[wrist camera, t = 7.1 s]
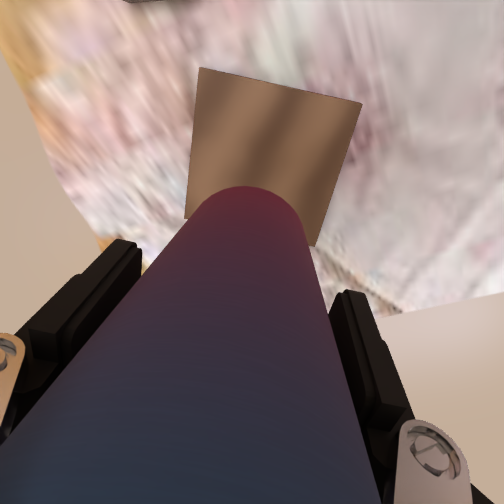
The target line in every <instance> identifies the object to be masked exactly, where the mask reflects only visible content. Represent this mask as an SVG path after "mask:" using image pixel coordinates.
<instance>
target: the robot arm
mask: <svg viewBox="0 0 504 504" xmlns="http://www.w3.org/2000/svg"><path fill="white" fill-rule="evenodd" d="M141 269H142V249H141V248H137V244H136V243H135V242H131V241H126V240H122V239H116V240H114V241H113V242H112V243H111V244H110V245H109V246H108V247H107V248H106V249H105V250H104V252H103V253H102V254H101V255H100V256H99V257H98V258H97V259H96V260H95V261H94V262H93V263H92V264H91V265H90V266H89V267H88V268H87V269H86V270H85V271H84V272H83V273H82V274H77V275H75V276H73V277H72V278H71V279H70V280H69V281H68V282H67V283H66V284H65V285H64V286H63V287H62V288H61V289H60V290H59V291H58V292H57V293H56V294H55V295H54V296H53V297H52V298H51V299H50V300H49V301H48V302H47V303H46V304H45V305H44V306H43V307H42V308H41V309H40V310H39V311H38V312H37V313H36V314H35V315H34V316H32V317H31V319H29V320H28V321H27V322H26V323H25V324H24V325H23V326H22V328H20V329H19V330H18V332H16V333H15V334H14V335H11V334H8V333H0V446H1V445H2V444H3V443H4V441H5V440H6V439H7V438H8V437H9V435H10V434H11V433H12V432H13V431H14V429H15V428H16V427H17V426H18V425H19V423H20V422H21V421H22V420H23V418H24V417H25V416H26V415H27V414H28V412H29V411H30V410H31V409H32V408H33V406H34V405H35V404H36V403H37V402H38V400H39V399H40V398H41V397H42V396H43V394H44V393H45V392H46V391H47V389H48V388H49V387H50V386H51V385H52V383H53V382H54V381H55V380H56V379H57V377H58V376H59V375H60V374H61V373H62V371H63V370H64V369H65V368H66V367H67V365H68V364H69V363H70V362H71V361H72V359H73V358H74V357H75V356H76V354H77V353H78V352H79V351H80V350H81V348H82V347H83V346H84V345H85V344H86V342H87V341H88V340H89V339H90V338H91V336H92V335H93V334H94V333H95V332H96V330H97V329H98V328H99V327H100V325H101V324H102V323H103V322H104V321H105V319H106V318H107V317H108V316H109V315H110V313H111V312H112V311H113V310H114V309H115V307H116V306H117V305H118V304H119V303H120V301H121V300H122V299H123V298H124V297H125V295H126V294H127V293H128V292H129V290H130V289H131V288H132V287H133V286H134V284H135V283H136V282H137V281H138V280H139V278H140V277H141ZM328 317H329V320H330V324H331V327H332V331H333V334H334V338H335V341H336V345H337V348H338V352H339V355H340V359H341V363H342V366H343V370H344V373H345V377H346V380H347V384H348V387H349V391H350V394H351V398H352V401H353V405H354V408H355V412H356V415H357V419H358V422H359V426H360V430H361V433H362V437H363V440H364V444H365V447H366V451H367V454H368V458H369V461H370V465H371V468H372V472H373V475H374V479H375V482H376V486H377V490H378V493H379V497H380V500H381V504H494V503H493V502H492V501H490V500H489V499H488V498H487V497H486V496H485V495H484V494H482V493H481V492H480V491H479V490H478V489H477V488H476V487H475V486H474V485H472V484H471V483H470V476H469V469H468V465H467V461H466V459H465V457H464V455H463V453H462V451H461V450H460V448H459V447H458V446H457V444H456V443H455V442H454V441H453V439H452V438H450V437H449V436H448V435H447V434H446V433H445V432H443V430H441V429H439V428H438V427H436V426H435V425H433V424H431V423H428V422H426V421H423V420H416V419H415V417H414V414H413V412H412V409H411V406H410V404H409V401H408V398H407V396H406V393H405V390H404V388H403V385H402V383H401V380H400V377H399V375H398V372H397V370H396V367H395V364H394V362H393V359H392V356H391V354H390V351H389V349H388V346H387V344H386V342H385V341H384V340H382V338H381V336H380V333H379V330H378V328H377V325H376V322H375V319H374V317H373V314H372V311H371V309H370V306H369V303H368V301H367V298H366V295H365V294H364V293H362V292H357V291H353V290H348V289H346V290H344V292H343V293H340V292H339V293H337V295H336V297H335V300H334V302H333V304H332V307H331V309H330V311H329V314H328Z"/></svg>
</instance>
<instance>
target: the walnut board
mask: <svg viewBox="0 0 504 504" xmlns="http://www.w3.org/2000/svg"><path fill="white" fill-rule="evenodd" d="M362 105H363V104H361V103H358V102H353V101H349V100H344V99H340V98H336V97H331V96H327V95H322V94H318V93H313V92H309V91H304V90H300V89H296V88H291V87H287V86H282V85H278V84H273V83H269V82H265V81H260V80H256V79H251V78H247V77H242V76H238V75H233V74H229V73H225V72H220V71H216V70H211V69H207V68H202V67H199V74H198V84H197V94H196V104H195V114H194V124H193V135H192V145H191V155H190V165H189V175H188V185H187V195H186V205H185V216H184V219H189V218H190V217H191V216H192V214H193V213H194V212H195V211H196V210H197V208H198V207H199V206H200V205H201V204H202V202H203V201H205V200H206V199H207V198H208V197H210V196H211V195H213V194H215V193H217V192H219V191H221V190H223V189H227V188H230V187H236V186H251V187H259V188H262V189H265V190H268V191H271V192H272V193H274V194H276V195H278V196H280V197H281V198H283V199H284V200H285V201H286V202H287V203H288V204H290V205H291V207H292V208H293V209H294V210H295V212H296V213H297V214H298V216H299V218H300V220H301V222H302V225H303V228H304V232H305V235H306V239H307V243H308V245H309V246H314V247H315V245H316V242H317V239H318V236H319V233H320V230H321V227H322V224H323V221H324V218H325V215H326V212H327V209H328V206H329V203H330V200H331V197H332V194H333V191H334V188H335V185H336V182H337V179H338V176H339V173H340V170H341V167H342V164H343V161H344V158H345V155H346V152H347V149H348V146H349V143H350V140H351V137H352V134H353V131H354V128H355V125H356V122H357V119H358V116H359V114H360V111H361V108H362Z"/></svg>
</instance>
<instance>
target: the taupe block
mask: <svg viewBox="0 0 504 504" xmlns="http://www.w3.org/2000/svg"><path fill="white" fill-rule="evenodd" d="M123 1H126V2H128V3H136V2H149V1H161V0H123Z"/></svg>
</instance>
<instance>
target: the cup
mask: <svg viewBox="0 0 504 504" xmlns="http://www.w3.org/2000/svg"><path fill="white" fill-rule="evenodd" d="M0 504H381V500H380V497H379V493H378V490H377V486H376V482H375V479H374V475H373V472H372V468H371V465H370V461H369V458H368V454H367V451H366V447H365V444H364V440H363V437H362V433H361V430H360V426H359V422H358V419H357V415H356V412H355V408H354V405H353V401H352V398H351V394H350V391H349V387H348V384H347V380H346V377H345V373H344V370H343V366H342V363H341V359H340V355H339V352H338V348H337V345H336V341H335V338H334V334H333V331H332V327H331V324H330V320H329V317H328V313H327V310H326V306H325V303H324V299H323V295H322V292H321V288H320V285H319V281H318V278H317V274H316V271H315V267H314V264H313V260H312V257H311V253H310V250H309V246H308V243H307V239H306V235H305V232H304V228H303V225H302V222H301V220H300V218H299V216H298V214H297V213H296V212H295V210H294V209H293V208H292V207H291V205H290V204H288V203H287V202H286V201H285V200H284V199H283V198H281V197H280V196H278V195H276V194H274V193H272V192H271V191H268V190H265V189H262V188H259V187H251V186H236V187H230V188H227V189H223V190H221V191H219V192H217V193H215V194H213V195H211V196H210V197H208V198H207V199H206V200H205V201H203V202H202V204H201V205H200V206H199V207H198V208H197V210H196V211H195V212H194V213H193V214H192V216H191V217H190V218H189V219H188V220H187V222H186V223H185V224H184V225H183V226H182V228H181V229H180V230H179V231H178V233H177V234H176V235H175V236H174V237H173V239H172V240H171V241H170V242H169V243H168V245H167V246H166V247H165V248H164V249H163V251H162V252H161V253H160V254H159V255H158V257H157V258H156V259H155V260H154V261H153V263H152V264H151V265H150V266H149V268H148V269H147V270H146V271H145V272H144V274H143V275H142V276H141V277H140V278H139V280H138V281H137V282H136V283H135V284H134V286H133V287H132V288H131V289H130V290H129V292H128V293H127V294H126V295H125V297H124V298H123V299H122V300H121V301H120V303H119V304H118V305H117V306H116V307H115V309H114V310H113V311H112V312H111V313H110V315H109V316H108V317H107V318H106V319H105V321H104V322H103V323H102V324H101V325H100V327H99V328H98V329H97V330H96V332H95V333H94V334H93V335H92V336H91V338H90V339H89V340H88V341H87V342H86V344H85V345H84V346H83V347H82V348H81V350H80V351H79V352H78V353H77V354H76V356H75V357H74V358H73V359H72V361H71V362H70V363H69V364H68V365H67V367H66V368H65V369H64V370H63V371H62V373H61V374H60V375H59V376H58V377H57V379H56V380H55V381H54V382H53V383H52V385H51V386H50V387H49V388H48V389H47V391H46V392H45V393H44V394H43V396H42V397H41V398H40V399H39V400H38V402H37V403H36V404H35V405H34V406H33V408H32V409H31V410H30V411H29V412H28V414H27V415H26V416H25V417H24V418H23V420H22V421H21V422H20V423H19V425H18V426H17V427H16V428H15V429H14V431H13V432H12V433H11V434H10V435H9V437H8V438H7V439H6V440H5V441H4V443H3V444H2V445H1V446H0Z"/></svg>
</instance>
